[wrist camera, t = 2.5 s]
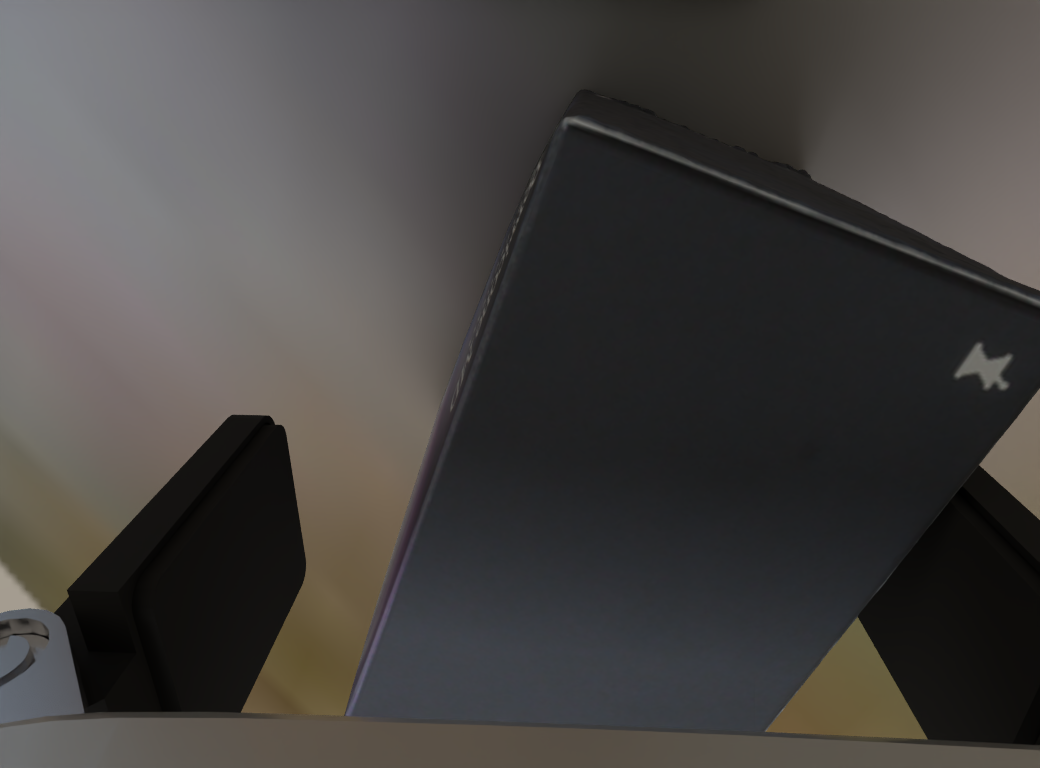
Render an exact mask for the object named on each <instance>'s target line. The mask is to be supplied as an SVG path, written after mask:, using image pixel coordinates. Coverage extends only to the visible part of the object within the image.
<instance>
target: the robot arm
mask: <svg viewBox="0 0 1040 768" xmlns="http://www.w3.org/2000/svg"><path fill="white" fill-rule="evenodd" d="M305 571H306V558H305V552H304V545H303V539H302V533H301V526H300V520H299V513H298V507H297V500H296V494H295V488H294V481H293V475H292V468H291V462H290V455H289V449H288V443H287V436H286V432H285V429H284V427H283V426H282V425H275V423H274V421H273V419H272V418H271V417H270V416H261V415H231V416H230V417H228V418H227V419H226V420H225V422H224V423H223V424H222V425H221V426H220V427H219V428H218V429H217V430H216V431H215V432H214V433H213V434H212V435H211V437H210V438H209V439H208V440H207V441H206V442H205V443H204V444H203V445H202V446H201V447H200V448H199V449H198V450H197V451H196V453H195V454H194V455H193V456H192V457H191V458H190V459H189V460H188V461H187V462H186V463H185V464H184V465H183V466H182V468H181V469H180V470H179V471H178V472H177V473H176V474H175V475H174V476H173V477H172V478H171V479H170V480H169V481H168V483H167V484H166V485H165V486H164V487H163V488H162V489H161V490H160V491H159V492H158V493H157V494H156V495H155V496H154V497H153V499H152V500H151V501H150V502H149V503H148V504H147V505H146V506H145V507H144V508H143V509H142V510H141V511H140V512H139V514H138V515H137V516H136V517H135V518H134V519H133V520H132V521H131V522H130V523H129V524H128V525H127V526H126V527H125V529H124V530H123V531H122V532H121V533H120V534H119V535H118V536H117V537H116V538H115V539H114V540H113V541H112V542H111V544H110V545H109V546H108V547H107V548H106V549H105V550H104V551H103V552H102V553H101V554H100V555H99V556H98V557H97V558H96V560H95V561H94V562H93V563H92V564H91V565H90V566H89V567H88V568H87V569H86V570H85V571H84V572H83V573H82V575H81V576H80V577H79V578H78V579H77V580H76V581H75V582H74V583H73V584H72V585H71V586H70V587H69V588H68V590H67V592H68V595H69V597H68V598H67V600H66V601H65V602H64V603H63V604H62V605H61V606H60V607H59V608H58V609H57V610H56V611H55V613H52V612H49V611H47V610H39V609H21V610H13V611H7V612H3V613H0V768H1040V520H1039V519H1038V518H1037V517H1036V516H1035V515H1034V514H1032V513H1031V512H1030V511H1029V510H1028V509H1027V508H1026V507H1025V506H1024V505H1022V504H1021V503H1020V502H1019V501H1018V500H1017V499H1016V498H1015V497H1014V496H1012V495H1011V494H1010V493H1009V492H1008V491H1007V490H1006V489H1005V488H1004V487H1003V486H1001V485H1000V484H999V483H998V482H997V481H996V480H995V479H994V478H993V477H991V476H990V475H989V474H988V473H987V472H986V471H985V470H984V469H983V468H981V467H980V466H979V465H978V467H977V468H976V469H975V471H974V472H973V473H972V474H971V475H970V477H969V478H968V479H967V480H966V482H965V483H964V484H963V485H962V487H961V488H960V489H959V490H958V491H957V493H956V494H955V495H954V496H953V498H952V499H951V500H950V501H949V503H948V504H947V505H946V506H945V508H944V509H943V510H942V511H941V513H940V514H939V515H938V516H937V518H936V519H935V520H934V521H933V523H932V524H931V525H930V526H929V528H928V529H927V530H926V531H925V533H924V534H923V535H922V536H921V538H920V539H919V540H918V542H917V543H916V544H915V545H914V546H913V548H912V549H911V550H910V551H909V553H908V554H907V555H906V556H905V558H904V559H903V560H902V561H901V562H900V564H899V565H898V566H897V568H896V569H895V570H894V571H893V573H892V574H891V575H890V577H889V578H888V579H887V581H886V582H885V583H884V584H883V586H882V587H881V588H880V589H879V590H878V591H877V593H876V594H875V595H874V596H873V597H872V599H871V600H870V601H869V602H868V603H867V605H866V606H865V607H864V608H863V610H862V611H861V612H860V613H859V615H858V618H859V620H860V621H861V623H862V625H863V627H864V628H865V630H866V632H867V634H868V635H869V637H870V639H871V641H872V642H873V644H874V646H875V648H876V649H877V651H878V653H879V655H880V656H881V658H882V660H883V662H884V663H885V665H886V667H887V669H888V670H889V672H890V674H891V675H892V677H893V679H894V681H895V682H896V684H897V686H898V688H899V689H900V691H901V693H902V695H903V696H904V698H905V700H906V702H907V703H908V705H909V707H910V709H911V710H912V712H913V714H914V716H915V717H916V719H917V721H918V723H919V724H920V726H921V728H922V730H923V731H924V733H925V735H926V737H927V738H928V740H926V739H904V738H882V737H861V736H839V735H817V734H796V733H774V732H752V731H728V730H703V729H679V728H655V727H631V726H605V725H580V724H554V723H529V722H504V721H474V720H445V719H416V718H387V717H358V716H329V715H300V714H267V713H241V710H242V708H243V706H244V704H245V702H246V700H247V698H248V696H249V694H250V692H251V690H252V688H253V686H254V684H255V681H256V679H257V677H258V675H259V673H260V671H261V669H262V667H263V665H264V663H265V661H266V659H267V657H268V655H269V652H270V650H271V648H272V646H273V644H274V642H275V640H276V638H277V636H278V634H279V632H280V630H281V628H282V626H283V623H284V621H285V619H286V617H287V615H288V613H289V611H290V609H291V607H292V605H293V603H294V601H295V599H296V596H297V594H298V592H299V590H300V588H301V586H302V584H303V581H304V577H305Z"/></svg>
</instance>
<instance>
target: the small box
mask: <svg viewBox="0 0 1040 768" xmlns="http://www.w3.org/2000/svg"><path fill="white" fill-rule="evenodd" d="M1039 389H1040V291H1039V290H1036V289H1034V288H1031V287H1028V286H1026V285H1023V284H1021V283H1018V282H1016V281H1013V280H1010V279H1008V278H1006V277H1004V276H1002V275H1000V274H998V273H997V272H995V271H994V270H992V269H991V268H989V267H987V266H985V265H983V264H981V263H979V262H977V261H975V260H973V259H970V258H968V257H966V256H964V255H962V254H960V253H959V252H957V251H955V250H953V249H951V248H949V247H946V246H944V245H942V244H940V243H938V242H936V241H934V240H932V239H931V238H929V237H927V236H925V235H923V234H921V233H919V232H917V231H916V230H914V229H911V228H909V227H907V226H905V225H902V224H901V223H899V222H897V221H895V220H893V219H891V218H889V217H887V216H886V215H884V214H881V213H879V212H877V211H875V210H873V209H871V208H870V207H868V206H866V205H863V204H862V203H860V202H858V201H856V200H853V199H851V198H849V197H847V196H845V195H843V194H840V193H838V192H836V191H834V190H832V189H830V188H828V187H825V186H824V185H821V184H819V183H817V182H815V181H813V180H812V179H811V176H810V175H809V174H808V173H807V171H805V170H798V171H796V170H795V169H794V168H793V167H791V166H790V165H787V164H781V163H778V162H768V161H765V160H763V159H760V158H759V157H758V155H757V154H755V153H753V152H748V153H747V152H746V151H745V150H744V149H743V148H741V147H738V146H734V147H730V146H729V145H727V144H724V143H721V142H719V141H718V140H717V139H710V138H707V137H705V136H704V135H702V134H698V133H696V132H693V131H691V130H689V129H688V128H687V127H686V126H681V125H677V124H674V123H671V122H669V121H667V120H665V119H660V118H658V117H656V115H655V113H654V112H652V111H651V110H648V109H643V108H641V107H639V106H638V105H633V104H629V103H627V102H625V101H618V100H616V99H613V98H608V97H606V96H602V95H599V94H596V93H594V92H592V91H588V90H580V91H579V92H578V93H577V94H576V96H575V97H574V99H573V101H572V102H571V104H570V106H569V107H568V109H567V110H566V112H565V114H564V115H563V117H562V119H561V121H560V122H559V124H558V125H557V127H556V129H555V131H554V133H553V135H552V137H551V139H550V141H549V142H548V144H547V146H546V148H545V150H544V152H543V154H542V156H541V157H540V159H539V161H538V163H537V165H536V167H535V169H534V171H533V173H532V175H531V178H530V180H529V182H528V184H527V186H526V189H525V191H524V193H523V196H522V198H521V200H520V203H519V205H518V207H517V210H516V212H515V214H514V216H513V219H512V221H511V223H510V226H509V228H508V230H507V233H506V235H505V238H504V240H503V243H502V246H501V248H500V251H499V253H498V256H497V258H496V261H495V263H494V266H493V269H492V271H491V274H490V276H489V279H488V281H487V284H486V286H485V289H484V292H483V294H482V297H481V299H480V302H479V304H478V307H477V309H476V312H475V315H474V317H473V320H472V322H471V325H470V327H469V330H468V333H467V335H466V338H465V341H464V343H463V346H462V349H461V351H460V354H459V357H458V359H457V362H456V364H455V367H454V370H453V372H452V375H451V378H450V380H449V383H448V386H447V388H446V391H445V394H444V396H443V399H442V402H441V404H440V407H439V410H438V413H437V416H436V419H435V423H434V426H433V429H432V432H431V435H430V439H429V442H428V445H427V448H426V452H425V455H424V458H423V461H422V464H421V467H420V470H419V473H418V476H417V479H416V482H415V486H414V489H413V492H412V495H411V498H410V501H409V504H408V507H407V510H406V513H405V516H404V520H403V523H402V526H401V529H400V532H399V535H398V538H397V541H396V544H395V547H394V551H393V554H392V557H391V560H390V563H389V566H388V570H387V573H386V576H385V579H384V582H383V586H382V589H381V592H380V595H379V598H378V601H377V605H376V608H375V611H374V615H373V618H372V621H371V625H370V628H369V632H368V635H367V638H366V642H365V645H364V649H363V652H362V655H361V659H360V662H359V666H358V669H357V673H356V676H355V680H354V683H353V687H352V690H351V694H350V698H349V701H348V705H347V708H346V712H345V715H344V716H358V717H387V718H416V719H445V720H474V721H504V722H529V723H554V724H580V725H605V726H631V727H655V728H679V729H703V730H728V731H752V732H765V731H766V730H767V729H768V727H769V726H770V725H771V724H772V723H773V721H774V720H775V719H776V718H777V716H778V715H779V714H780V713H781V712H782V710H783V709H784V708H785V706H786V705H787V704H788V702H789V701H790V700H791V699H792V697H793V696H794V695H795V694H796V693H797V691H798V690H799V689H800V688H801V686H802V685H803V684H804V683H805V681H806V680H807V679H808V677H809V676H810V675H811V674H812V672H813V671H814V670H815V669H816V668H817V666H818V665H819V664H820V662H821V661H822V660H823V658H824V657H825V656H826V655H827V653H828V652H829V651H830V650H831V649H832V647H833V646H834V645H835V644H836V643H837V642H838V640H839V639H840V638H841V636H842V635H843V634H844V633H845V631H846V630H847V629H848V628H849V626H850V625H851V624H852V623H853V622H854V620H855V619H856V618H857V616H858V615H859V613H860V612H861V611H862V610H863V608H864V607H865V606H866V605H867V603H868V602H869V601H870V600H871V599H872V597H873V596H874V595H875V594H876V593H877V591H878V590H879V589H880V588H881V587H882V586H883V584H884V583H885V582H886V581H887V579H888V578H889V577H890V575H891V574H892V573H893V571H894V570H895V569H896V568H897V566H898V565H899V564H900V562H901V561H902V560H903V559H904V558H905V556H906V555H907V554H908V553H909V551H910V550H911V549H912V548H913V546H914V545H915V544H916V543H917V542H918V540H919V539H920V538H921V536H922V535H923V534H924V533H925V531H926V530H927V529H928V528H929V526H930V525H931V524H932V523H933V521H934V520H935V519H936V518H937V516H938V515H939V514H940V513H941V511H942V510H943V509H944V508H945V506H946V505H947V504H948V503H949V501H950V500H951V499H952V498H953V496H954V495H955V494H956V493H957V491H958V490H959V489H960V488H961V487H962V485H963V484H964V483H965V482H966V480H967V479H968V478H969V477H970V475H971V474H972V473H973V472H974V471H975V469H976V468H977V467H978V465H979V464H980V463H981V462H982V460H983V459H984V458H985V457H986V455H987V454H988V453H989V452H990V450H991V449H992V448H993V446H994V445H995V444H996V443H997V441H998V440H999V439H1000V438H1001V436H1002V435H1003V434H1004V433H1005V432H1006V430H1007V429H1008V428H1009V427H1010V425H1011V424H1012V423H1013V422H1014V420H1015V419H1016V418H1017V417H1018V415H1019V414H1020V413H1021V411H1022V410H1023V409H1024V407H1025V406H1026V405H1027V404H1028V402H1029V401H1030V400H1031V399H1032V397H1033V396H1034V395H1035V394H1036V392H1037V391H1038V390H1039Z"/></svg>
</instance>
